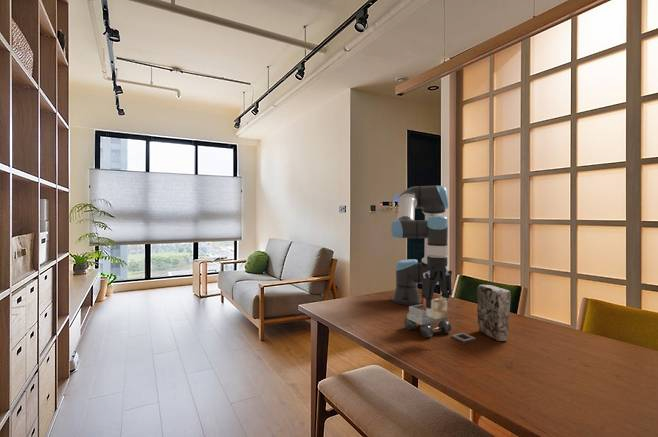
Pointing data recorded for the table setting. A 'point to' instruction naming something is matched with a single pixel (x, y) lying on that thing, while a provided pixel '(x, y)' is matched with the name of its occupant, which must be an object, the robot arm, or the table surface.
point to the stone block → (493, 311)
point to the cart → (425, 321)
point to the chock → (439, 309)
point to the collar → (463, 339)
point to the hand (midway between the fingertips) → (436, 315)
